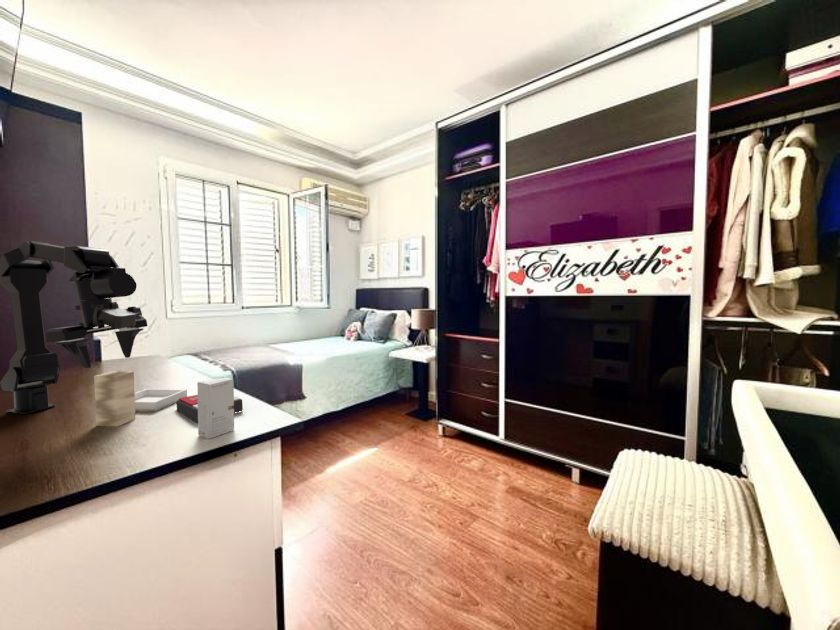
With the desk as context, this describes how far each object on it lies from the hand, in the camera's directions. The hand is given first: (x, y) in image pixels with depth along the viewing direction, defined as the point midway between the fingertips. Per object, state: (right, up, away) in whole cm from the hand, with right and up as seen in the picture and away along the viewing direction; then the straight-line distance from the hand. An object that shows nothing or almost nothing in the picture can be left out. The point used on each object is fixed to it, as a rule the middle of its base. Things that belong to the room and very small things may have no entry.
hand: (109, 362), depth 83 cm
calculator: (+20, -15, +8) cm, 26 cm away
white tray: (0, -14, +13) cm, 19 cm away
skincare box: (+30, -15, -6) cm, 34 cm away
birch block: (+3, -14, -1) cm, 15 cm away
